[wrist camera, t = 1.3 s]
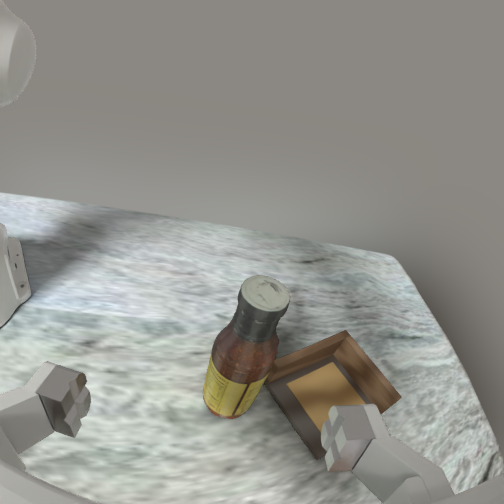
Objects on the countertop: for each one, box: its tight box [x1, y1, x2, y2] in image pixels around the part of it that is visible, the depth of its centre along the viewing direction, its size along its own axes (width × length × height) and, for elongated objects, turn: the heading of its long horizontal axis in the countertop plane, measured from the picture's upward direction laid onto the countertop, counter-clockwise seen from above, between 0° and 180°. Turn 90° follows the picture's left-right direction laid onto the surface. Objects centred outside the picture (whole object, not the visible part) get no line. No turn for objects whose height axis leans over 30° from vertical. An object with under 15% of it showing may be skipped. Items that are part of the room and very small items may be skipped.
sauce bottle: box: [203, 275, 290, 419], centre depth 30 cm, size 6×6×20 cm
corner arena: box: [264, 330, 401, 460], centre depth 38 cm, size 14×14×5 cm
